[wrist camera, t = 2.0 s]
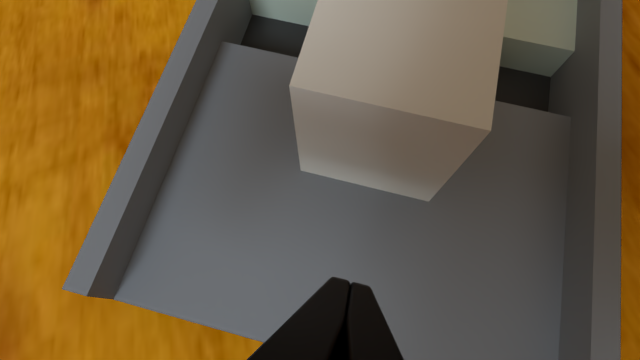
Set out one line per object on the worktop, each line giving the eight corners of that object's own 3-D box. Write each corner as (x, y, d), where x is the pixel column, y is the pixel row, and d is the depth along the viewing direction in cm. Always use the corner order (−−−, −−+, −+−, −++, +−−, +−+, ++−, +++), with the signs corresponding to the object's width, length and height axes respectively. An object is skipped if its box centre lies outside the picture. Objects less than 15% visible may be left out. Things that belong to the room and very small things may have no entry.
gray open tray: (546, 418, 17) (630, 453, 12) (120, 296, 19) (53, 287, 14) (573, -33, 26) (629, -112, 21) (279, -87, 28) (270, -171, 23)
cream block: (428, 201, 18) (490, 130, 11) (300, 170, 18) (288, 85, 12) (448, 90, 20) (511, -25, 13) (332, 65, 20) (336, -58, 14)
